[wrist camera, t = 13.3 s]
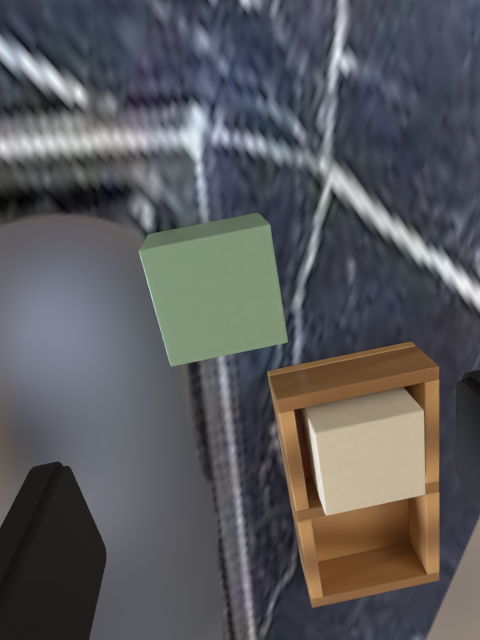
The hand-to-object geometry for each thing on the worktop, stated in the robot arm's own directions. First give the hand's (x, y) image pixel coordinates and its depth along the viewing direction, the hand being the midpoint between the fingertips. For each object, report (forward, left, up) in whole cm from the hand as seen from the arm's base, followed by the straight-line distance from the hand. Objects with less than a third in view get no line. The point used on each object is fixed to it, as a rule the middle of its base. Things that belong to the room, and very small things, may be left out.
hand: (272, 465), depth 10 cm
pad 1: (-1, -1, -13) cm, 13 cm away
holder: (+13, +5, -13) cm, 19 cm away
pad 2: (+9, +5, -12) cm, 16 cm away
